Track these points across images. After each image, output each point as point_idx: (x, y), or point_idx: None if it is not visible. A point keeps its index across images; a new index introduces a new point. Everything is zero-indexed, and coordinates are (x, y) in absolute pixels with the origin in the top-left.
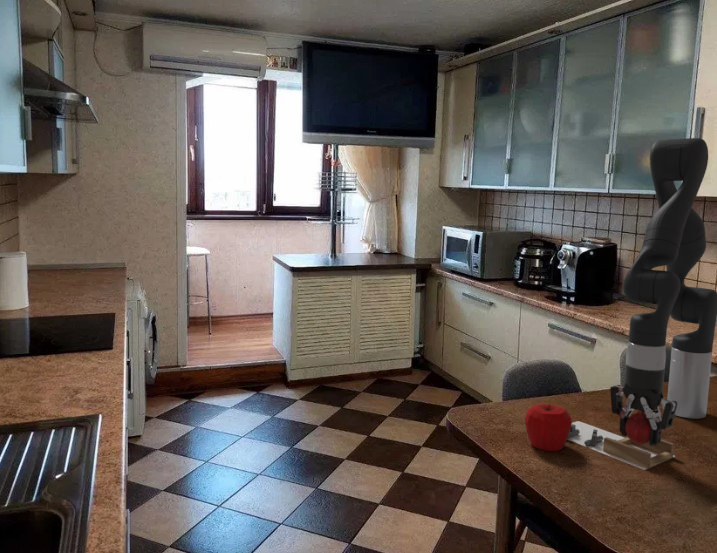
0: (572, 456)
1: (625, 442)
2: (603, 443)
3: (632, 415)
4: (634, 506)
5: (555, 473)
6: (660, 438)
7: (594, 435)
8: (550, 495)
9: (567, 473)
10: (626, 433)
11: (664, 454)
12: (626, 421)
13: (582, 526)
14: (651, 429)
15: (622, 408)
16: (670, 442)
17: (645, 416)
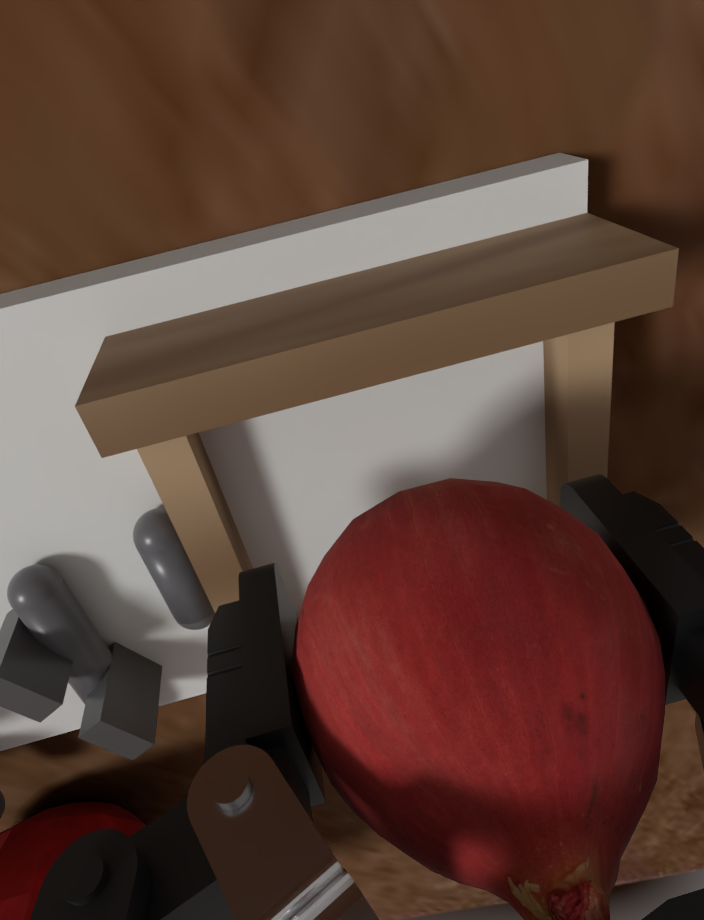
0: (192, 754)
1: (206, 473)
2: (112, 586)
3: (433, 870)
4: (689, 738)
5: (337, 855)
6: (678, 530)
7: (132, 744)
8: (469, 898)
9: (358, 824)
10: (292, 617)
11: (597, 371)
12: (316, 763)
13: (643, 879)
14: (675, 699)
15: (136, 902)
16: (633, 262)
17: (630, 833)
